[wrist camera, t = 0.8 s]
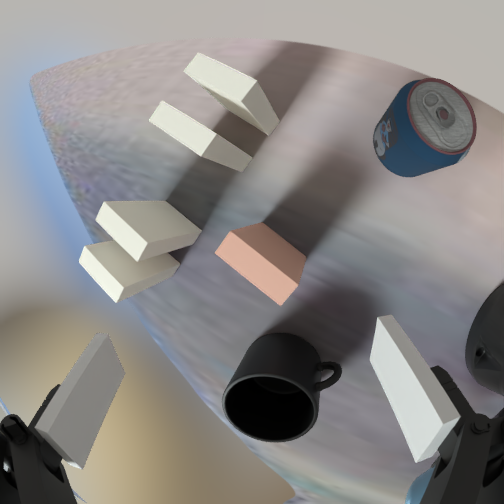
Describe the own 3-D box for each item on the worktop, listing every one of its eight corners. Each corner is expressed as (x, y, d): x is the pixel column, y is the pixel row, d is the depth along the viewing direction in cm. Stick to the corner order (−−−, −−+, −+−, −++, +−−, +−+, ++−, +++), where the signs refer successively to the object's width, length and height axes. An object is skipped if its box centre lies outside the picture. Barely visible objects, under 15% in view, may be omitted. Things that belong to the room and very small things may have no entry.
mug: (350, 378, 31) (354, 427, 22) (262, 400, 34) (244, 447, 25) (327, 313, 30) (328, 353, 21) (233, 343, 33) (205, 383, 25)
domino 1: (165, 200, 33) (103, 201, 22) (202, 230, 32) (147, 242, 22) (157, 214, 33) (95, 219, 23) (193, 244, 33) (137, 261, 22)
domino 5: (262, 222, 30) (230, 230, 20) (306, 257, 30) (298, 284, 19) (251, 236, 31) (214, 252, 20) (295, 271, 30) (280, 305, 20)
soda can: (440, 156, 24) (497, 133, 13) (398, 191, 26) (444, 182, 15) (401, 105, 24) (438, 57, 13) (358, 138, 26) (379, 97, 15)
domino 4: (211, 130, 30) (162, 100, 19) (252, 157, 29) (216, 133, 19) (201, 144, 30) (148, 120, 20) (242, 172, 30) (200, 156, 19)
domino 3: (237, 96, 29) (198, 52, 18) (279, 121, 28) (257, 80, 18) (226, 109, 29) (183, 71, 19) (269, 136, 29) (241, 101, 18)
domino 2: (146, 233, 34) (84, 245, 23) (180, 263, 33) (123, 287, 23) (139, 246, 34) (78, 261, 24) (172, 276, 34) (116, 303, 23)
